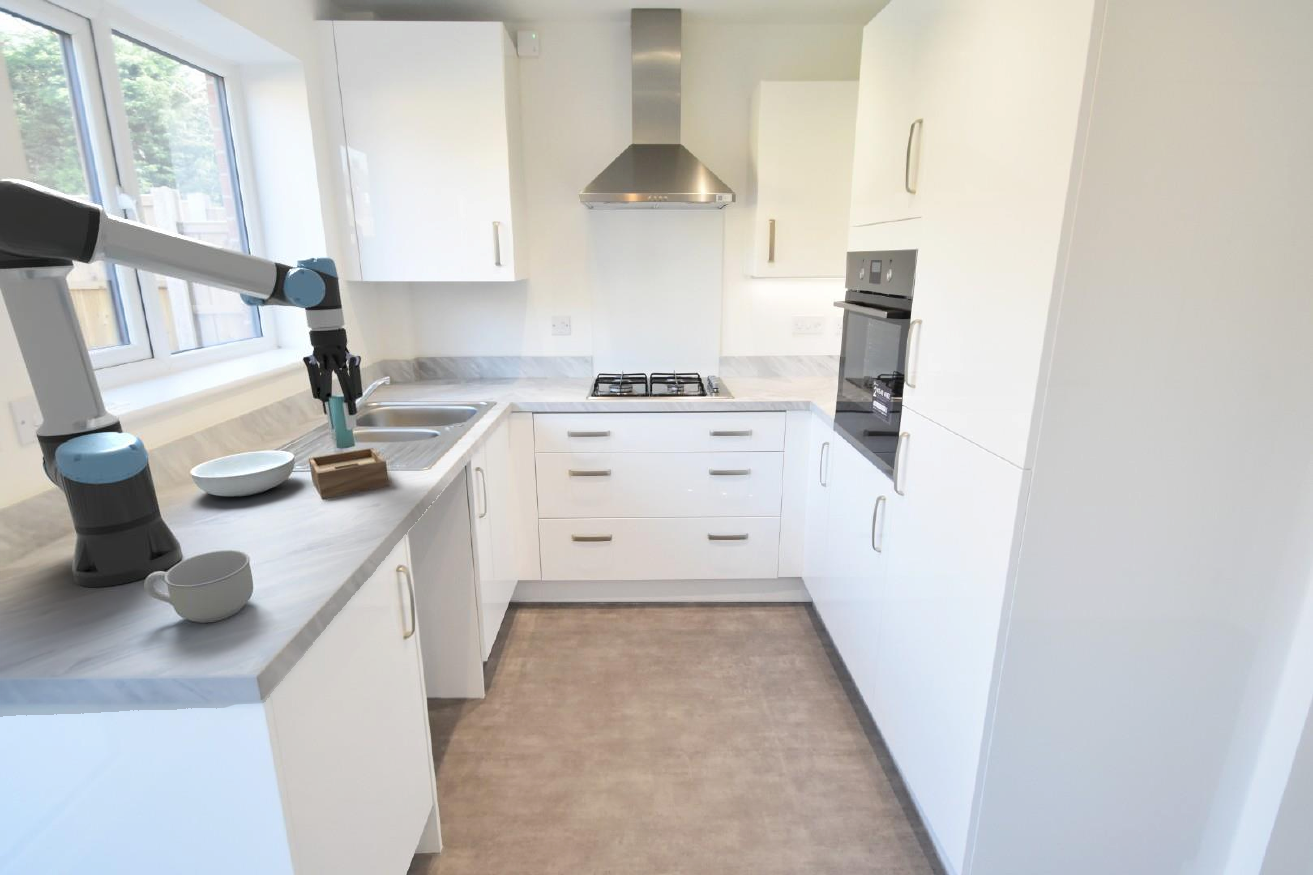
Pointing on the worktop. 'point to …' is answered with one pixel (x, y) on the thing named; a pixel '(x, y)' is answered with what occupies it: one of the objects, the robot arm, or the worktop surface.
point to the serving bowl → (243, 473)
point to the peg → (340, 423)
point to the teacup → (206, 585)
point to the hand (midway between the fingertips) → (343, 427)
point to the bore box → (348, 472)
